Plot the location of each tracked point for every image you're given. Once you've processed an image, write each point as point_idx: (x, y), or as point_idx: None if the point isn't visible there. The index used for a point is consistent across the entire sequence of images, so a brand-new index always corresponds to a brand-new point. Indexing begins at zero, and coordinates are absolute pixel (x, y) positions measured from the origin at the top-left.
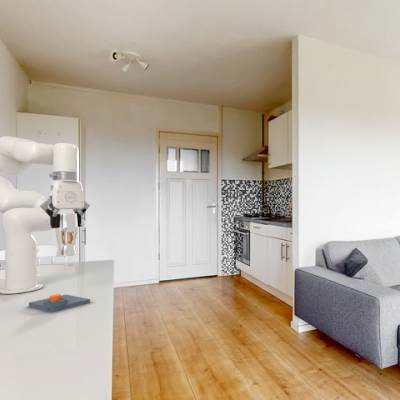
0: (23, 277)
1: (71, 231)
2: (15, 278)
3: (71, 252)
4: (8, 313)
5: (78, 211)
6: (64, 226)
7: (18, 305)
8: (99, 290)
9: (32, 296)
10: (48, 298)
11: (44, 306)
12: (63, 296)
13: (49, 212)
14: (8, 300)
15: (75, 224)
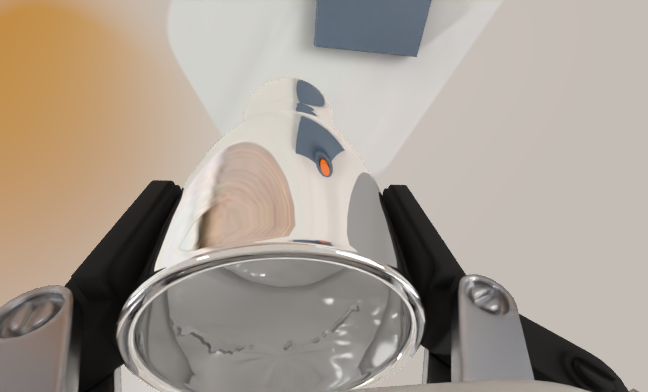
0: None
1: (291, 116)
2: None
3: (288, 83)
4: (469, 38)
5: (55, 370)
6: (355, 156)
7: (403, 103)
8: (193, 38)
9: None
10: (368, 47)
11: None
12: (336, 21)
13: (558, 345)
14: (374, 177)
15: (238, 142)
